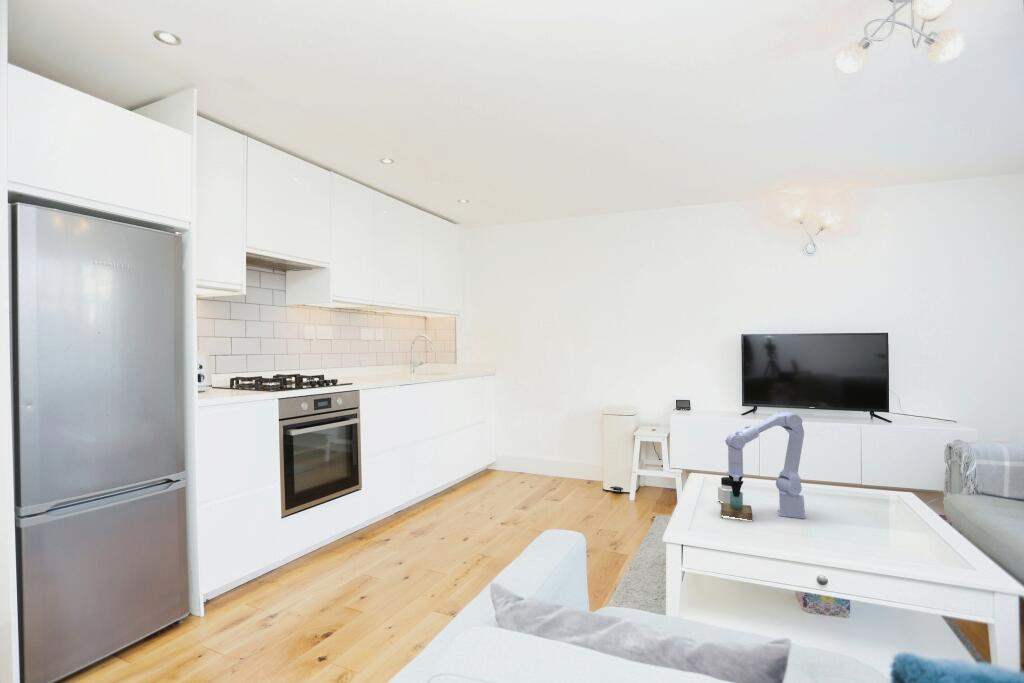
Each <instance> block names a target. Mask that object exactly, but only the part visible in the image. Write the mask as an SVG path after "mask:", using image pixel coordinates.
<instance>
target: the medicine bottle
mask: <svg viewBox="0 0 1024 683" xmlns="http://www.w3.org/2000/svg"><path fill="white" fill-rule="evenodd" d="M720 479H721V482H720V485H719V486H717V500H718V499H719V500H720V501H722V502H723V503H730V491H732V487H731V484H730V482H729V479H730V478H729V476H722V477H721V478H720Z"/></svg>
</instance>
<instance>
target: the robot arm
mask: <svg viewBox="0 0 1024 683" xmlns="http://www.w3.org/2000/svg"><path fill="white" fill-rule="evenodd" d="M776 426H777V427H781V428H784V430H785V432H787V434H789V436H788V440H787V448H786V451H785V452H786V453H785V458H784V466H783V469H782V470H781V471H780V472H779V474H778V477H777V478H776V481H775V486H776V488H777V489H778V495H779V497H778V498H779V509H778V510H777V512H778V516H779V517H787V518H794V519H796V518H797V519H805V518H806V515H805V514H806V513H805V512H806V511H805V497H804V495H802V494H801V493H802V489H803V488H802V483H801V482H802V479H801V476H800V475H799V466H800V461H801V455H802V449H803V444H804V438H805V430H804V426H803V419H802V417H801V416H800V415H799V414H798V413H795V412H787V411H785V410H780V411H778V412H775V413H773V414H772V415H771V416H770V417H768V418H766V419H764V420H763V421H761V422H759V423H757V424H756V425H745V426H744V428H743V429H741V430H739V431H738V430H736V431H735V433H731V434H728V435H727V437H726V439H725V444H726V446H727V457H728V458H727V460H728V461H727V462H728V463H727V464H728V471H725V474H726V475H728V477H729V478H730V479H729V482H730V484H731V487H732V491H733V496H734V497H739V495H740V492H741V490H742V486H743V484H744V480H742V479H743V477H744V459H743V458H744V457H743V456H744V455H743V453H744V452H743V449H744V448H745V445H746V444H748V443H750V442H752V441H753V440H756V439H757V438H758V437H759V436H760V433H763V432H764V431H767V430H769V429H771V428H773V427H776Z"/></svg>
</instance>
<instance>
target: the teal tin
mask: <svg viewBox="0 0 1024 683" xmlns="http://www.w3.org/2000/svg"><path fill="white" fill-rule="evenodd" d="M743 496H744V495H743V492H742V491H740V495H739V497H734V496H733V491H730V508H732V509H738V510H741V509H743V505H744V502H743V500H744V497H743Z"/></svg>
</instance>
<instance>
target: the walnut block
mask: <svg viewBox="0 0 1024 683" xmlns="http://www.w3.org/2000/svg"><path fill="white" fill-rule="evenodd" d="M721 515H723V516H729V517H735V518H742V519H747V520H752V521H753V510H752V505H749V504H748V505H747V504H743V509H741V510H738V509H732V508H730V503H720V516H721Z"/></svg>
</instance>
